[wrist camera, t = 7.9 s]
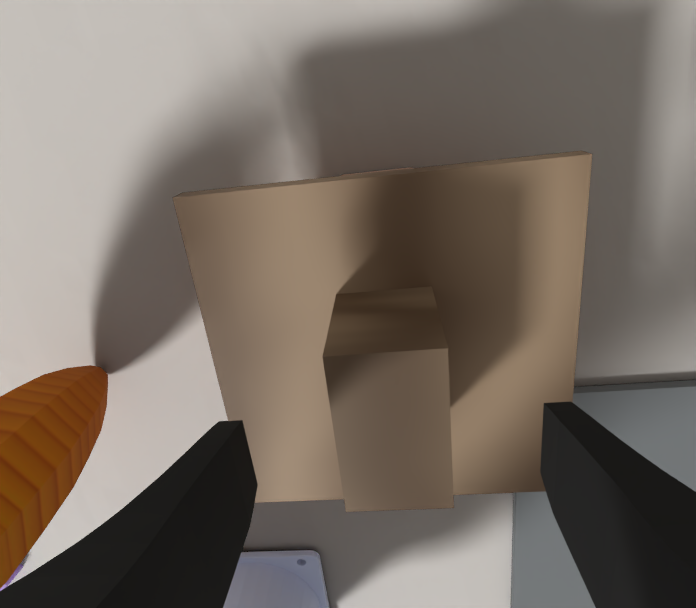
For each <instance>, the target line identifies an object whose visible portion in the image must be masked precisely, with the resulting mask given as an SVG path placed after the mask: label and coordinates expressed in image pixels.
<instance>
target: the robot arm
mask: <svg viewBox="0 0 696 608" xmlns="http://www.w3.org/2000/svg"><path fill="white" fill-rule="evenodd" d="M540 473H541V477H542V480H543V483H544V487H545V490H546V493H547V497H548V500H549V503H550V506H551V509H552V512H553V515H554V517H555V519H556V521H557V524H558V526H559V528H560V530H561V533H562V535H563V537H564V539H565V542H566V544H567V546H568V548H569V550H570V553H571V555H572V557H573V559H574V561H575V564H576V566H577V568H578V570H579V572H580V575H581V577H582V579H583V581H584V583H585V586H586V588H587V590H588V592H589V594H590V596H591V599H592V601H593V603H594V605H595V607H596V608H696V492H695V491H694V490H692V489H691V488H689V487H688V486H686V485H685V484H683V483H682V482H680V481H678V480H677V479H675V478H674V477H672V476H671V475H669V474H668V473H666V472H665V471H663V470H662V469H660V468H659V467H658V466H656V465H655V464H653V463H652V462H650V461H649V460H648V459H646V458H645V457H643V456H642V455H641V454H639V453H638V452H637V451H635V450H634V449H632V448H631V447H630V446H628V445H627V444H626V443H624V442H623V441H622V440H620V439H619V438H618V437H616V436H615V435H614V434H613V433H611V432H610V431H609V430H607V429H606V428H605V427H604V426H602V425H601V424H600V423H598V422H597V421H596V420H595V419H593V418H592V417H591V416H590V415H588V414H587V413H586V412H584V411H583V410H582V409H581V408H579V407H578V406H577V405H575V404H574V403H573V402H571V401H570V402H552V403H544V407H543V427H542V446H541V466H540ZM257 486H258V484H257V479H256V475H255V471H254V467H253V462H252V458H251V454H250V450H249V446H248V441H247V437H246V433H245V429H244V424H243V420H237V421H220V422H218V423H217V424H215V425H214V426H213V427H212V428H211V429H210V430H209V431H208V432H207V433H206V434H204V435H203V436H202V437H201V438H200V439H199V440H198V441H197V442H196V443H195V444H194V445H193V446H192V447H191V448H190V449H189V450H188V451H187V452H186V453H185V454H184V455H182V456H181V457H180V458H179V459H178V460H177V461H176V462H175V463H174V464H173V465H172V466H171V467H170V468H169V469H168V470H166V471H165V472H164V473H163V474H162V475H161V476H160V477H159V478H158V479H157V480H155V481H154V482H153V483H152V484H151V485H150V486H148V487H147V488H146V489H145V490H144V491H143V492H141V493H140V494H139V495H138V496H137V497H136V498H134V499H133V500H132V501H131V502H130V503H129V504H127V505H126V506H125V507H124V508H123V509H121V510H120V511H119V512H118V513H116V514H115V515H114V516H113V517H111V518H110V519H109V520H107V521H106V522H105V523H103V524H102V525H101V526H99V527H98V528H97V529H95V530H94V531H93V532H91V533H90V534H88V535H87V536H86V537H84V538H83V539H82V540H80V541H79V542H77V543H76V544H74V545H73V546H71V547H70V548H68V549H67V550H65V551H64V552H62V553H61V554H59V555H57V556H56V557H54V558H53V559H51V560H50V561H48V562H47V563H45V564H44V565H42V566H41V567H39V568H37V569H36V570H34V571H33V572H31V573H30V574H28V575H26V576H25V577H23V578H21V579H20V580H18V581H16V582H15V583H13V584H11V585H9V586H8V587H6V588H4V589H3V590H1V591H0V608H330V607H329V602H328V597H327V591H326V586H325V581H324V575H323V570H322V565H321V559H320V555H319V554H318V553H317V552H316V551H313V550H296V551H262V552H242V549H243V546H244V542H245V539H246V536H247V533H248V530H249V527H250V523H251V518H252V513H253V508H254V503H255V497H256V492H257Z"/></svg>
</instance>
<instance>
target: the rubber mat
mask: <svg viewBox="0 0 696 608" xmlns="http://www.w3.org/2000/svg"><path fill="white" fill-rule="evenodd" d="M573 403H574V404H575V405H577V406H578V407H579V408H581V409H582V410H583V411H584V412H586V413H587V414H588V415H590V416H591V417H592V418H593V419H595V420H596V421H597V422H598V423H600V424H601V425H602V426H604V427H605V428H606V429H607V430H609V431H610V432H611V433H613V434H614V435H615V436H616V437H618V438H619V439H620V440H622V441H623V442H624V443H626V444H627V445H628V446H630V447H631V448H632V449H634V450H635V451H637V452H638V453H639V454H641V455H642V456H643V457H645V458H646V459H648V460H649V461H650V462H652V463H653V464H655V465H656V466H658V467H659V468H660V469H662V470H663V471H665V472H666V473H668V474H669V475H671V476H672V477H674V478H675V479H677V480H678V481H680V482H682V483H683V484H685V485H686V486H688V487H689V488H691V489H692V490H694V491H695V492H696V380H684V381H668V382H651V383H634V384H617V385H600V386H584V387H574V390H573ZM511 608H596V607H595V605H594V603H593V601H592V599H591V596H590V594H589V592H588V590H587V588H586V586H585V583H584V581H583V579H582V577H581V575H580V572H579V570H578V568H577V566H576V564H575V561H574V559H573V557H572V555H571V553H570V550H569V548H568V546H567V544H566V542H565V539H564V537H563V535H562V533H561V530H560V528H559V526H558V524H557V521H556V519H555V517H554V515H553V512H552V509H551V506H550V503H549V500H548V497H547V493H546V491H544V492H518V493H513V533H512V573H511Z"/></svg>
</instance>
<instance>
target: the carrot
mask: <svg viewBox="0 0 696 608" xmlns="http://www.w3.org/2000/svg"><path fill="white" fill-rule="evenodd" d="M107 390H108V374H107V373H106V372H105V371H104V370H103V369H102V368H101V367H96V366H82V367H73V368H66V369H63V370H59V371H55V372H52V373H48V374H45V375H42V376H40V377H38V378H36V379H34V380H32V381H30V382H28V383H26V384H24V385H22V386H20V387H18V388H15V389H14V390H12V391H10V392H8V393H6V394H5V395H3V396H1V397H0V589H1V587H2V586H3V585H4V584H5V583H6V582H7V581H8V580H9V578H10V577H11V575H12V574H13V573H14V571H15V570H16V569H17V567H18V566H19V564H20V563H21V562H22V560H23V559H24V558H25V556H26V555H27V553H28V552H29V551H30V549H31V548H32V546H33V545H34V544H35V542H36V541H37V540H38V538H39V537H40V535H41V534H42V533H43V531H44V530H45V528H46V527H47V526H48V524H49V523H50V521H51V520H52V518H53V517H54V515H55V514H56V512H57V511H58V509H59V508H60V506H61V505H62V503H63V502H64V500H65V499H66V498H67V496H68V495H69V493H70V492H71V490H72V489H73V487H74V485H75V483H76V481H77V479H78V477H79V476H80V474H81V472H82V470H83V468H84V466H85V464H86V462H87V460H88V458H89V456H90V454H91V451H92V449H93V447H94V445H95V443H96V440H97V438H98V436H99V434H100V431H101V428H102V424H103V420H104V415H105V411H106V407H107Z"/></svg>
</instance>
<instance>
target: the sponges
mask: <svg viewBox="0 0 696 608" xmlns="http://www.w3.org/2000/svg"><path fill="white" fill-rule="evenodd" d="M22 567H23V565H21V564H19V566H18V567H17V569H16V570H15V571H14V573H13V574H12V575H11V577H10V578H9V580H8V581H7V582H6V583H5V584H4V585H3V586H2V587H1V589H0V591H1V590H3V589H4V588H6V587H7V586H8V585H9V584H10V582H11V581H12V580H13V579H14V577H15V576H16V575H17V574H18V572H19V571H20V570H21V569H22Z"/></svg>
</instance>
